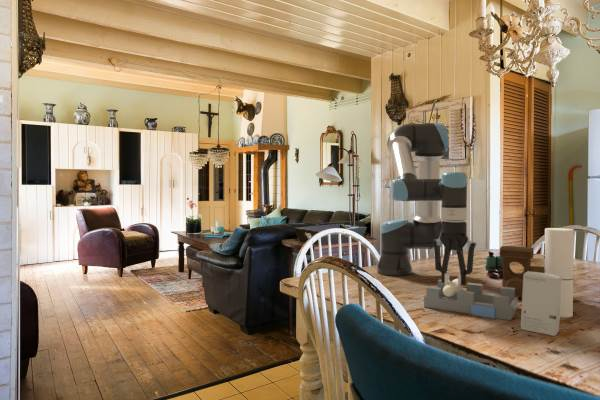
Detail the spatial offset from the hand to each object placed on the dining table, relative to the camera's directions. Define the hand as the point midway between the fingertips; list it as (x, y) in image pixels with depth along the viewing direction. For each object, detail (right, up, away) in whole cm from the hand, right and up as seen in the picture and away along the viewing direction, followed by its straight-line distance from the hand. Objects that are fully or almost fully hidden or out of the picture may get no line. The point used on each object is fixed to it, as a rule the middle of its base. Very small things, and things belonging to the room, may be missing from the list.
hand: (453, 293), depth 133 cm
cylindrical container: (+27, -4, -10) cm, 29 cm away
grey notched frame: (+4, -3, -3) cm, 6 cm away
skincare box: (+14, -4, -24) cm, 28 cm away
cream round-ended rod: (0, 0, 0) cm, 0 cm away
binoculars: (+33, -2, +39) cm, 51 cm away
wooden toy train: (+30, -3, +8) cm, 31 cm away
